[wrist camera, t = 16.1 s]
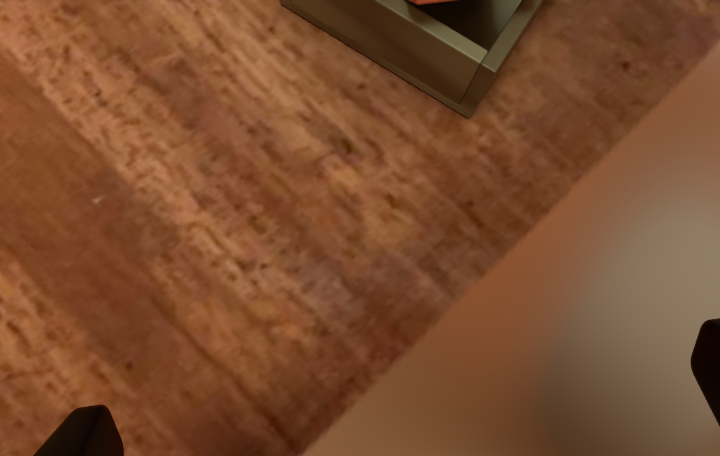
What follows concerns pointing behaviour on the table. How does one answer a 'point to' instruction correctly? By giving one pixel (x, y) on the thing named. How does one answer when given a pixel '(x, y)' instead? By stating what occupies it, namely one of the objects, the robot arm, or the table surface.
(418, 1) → the tea carton
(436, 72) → the box
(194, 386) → the table surface
